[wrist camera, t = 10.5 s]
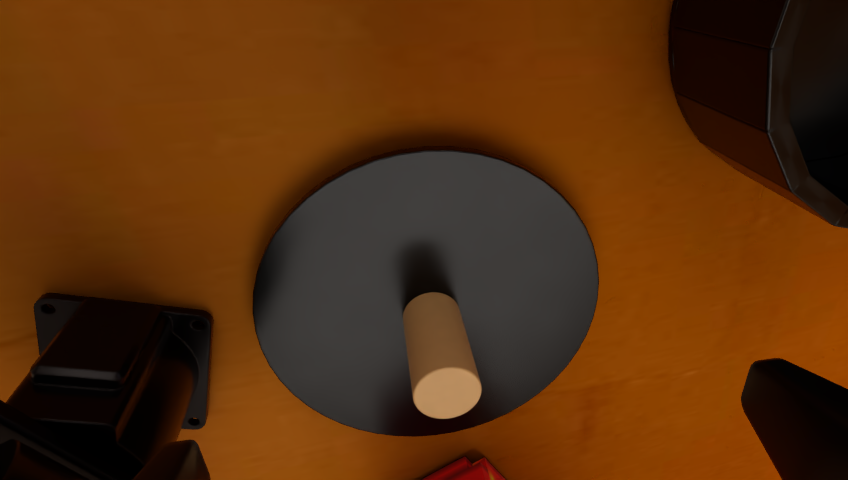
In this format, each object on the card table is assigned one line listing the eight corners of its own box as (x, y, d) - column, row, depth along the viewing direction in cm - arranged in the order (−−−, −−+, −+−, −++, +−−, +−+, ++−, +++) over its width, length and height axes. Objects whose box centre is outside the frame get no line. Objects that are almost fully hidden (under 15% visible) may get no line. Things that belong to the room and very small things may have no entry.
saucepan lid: (529, 429, 28) (566, 531, 23) (244, 406, 25) (216, 519, 20) (642, 176, 21) (727, 244, 16) (275, 104, 18) (246, 160, 13)
